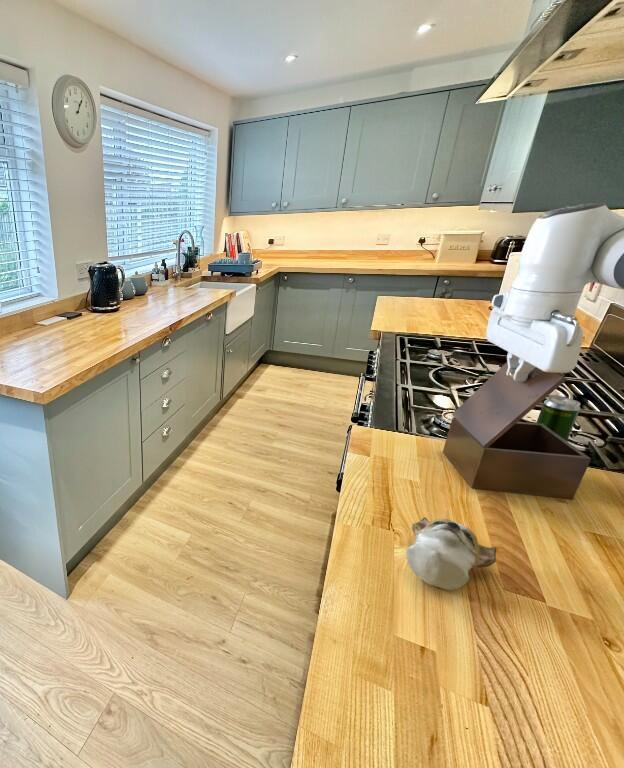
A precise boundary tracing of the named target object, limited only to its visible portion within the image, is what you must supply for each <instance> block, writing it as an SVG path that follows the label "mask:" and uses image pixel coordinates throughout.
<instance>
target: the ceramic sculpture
mask: <svg viewBox="0 0 624 768" xmlns="http://www.w3.org/2000/svg"><path fill="white" fill-rule="evenodd" d="M411 531H412V532H413V534H414V536H415V540H414V543H413V544H411V545H410V546H408V547H407V548H406V551H405V554H406V555H405V556H406V557H405V558H406V561H407V564H408V566H409V568H410V571H412V572H413V574H415V575H416V576H418V578H420V579H421V580H422V581H423V582H424V583H426V584H428V585H430V586H432V587H436V588H440V589H443V590H447V591H453V590H457V589H461V587H463V586H464V585H466V584H467V583H468V582H469V580H470V576H469V572H470V570H471V569H474V568H487V567H490V566H492V565H493V564H495V563H496V562H497V555H496V554H497V547H495V546H492V547H487V546H483V545H482V544H479V542H478V538H477V536H476V534H475V533H474V532H473V531H472V530H471V529H470V528H469V527H467V526H465V525H463V524H461V523H459V522H457V521H454V520H451V519H448V518H437V519H434V520H432V521H431V522H430V521H429V520H428V518H427V517H426V516H424V517H423V518H422V519H421V520H420V521H418V522H414V523H412V525H411Z"/></svg>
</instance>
